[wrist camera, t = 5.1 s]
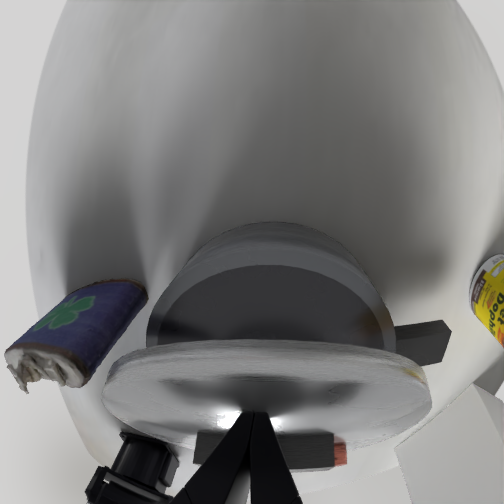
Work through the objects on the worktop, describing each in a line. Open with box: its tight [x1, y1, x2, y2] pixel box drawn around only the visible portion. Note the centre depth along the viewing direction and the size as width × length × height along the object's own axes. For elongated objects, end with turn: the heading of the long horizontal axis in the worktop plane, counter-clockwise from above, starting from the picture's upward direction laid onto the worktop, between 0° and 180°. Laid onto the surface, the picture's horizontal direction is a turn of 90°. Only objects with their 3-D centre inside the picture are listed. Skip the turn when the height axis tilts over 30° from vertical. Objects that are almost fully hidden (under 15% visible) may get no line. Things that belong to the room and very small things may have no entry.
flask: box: [4, 278, 149, 394], centre depth 15 cm, size 9×3×11 cm, turn 106°
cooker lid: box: [102, 339, 432, 473], centre depth 11 cm, size 15×15×3 cm
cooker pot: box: [146, 222, 452, 366], centre depth 17 cm, size 18×16×5 cm
